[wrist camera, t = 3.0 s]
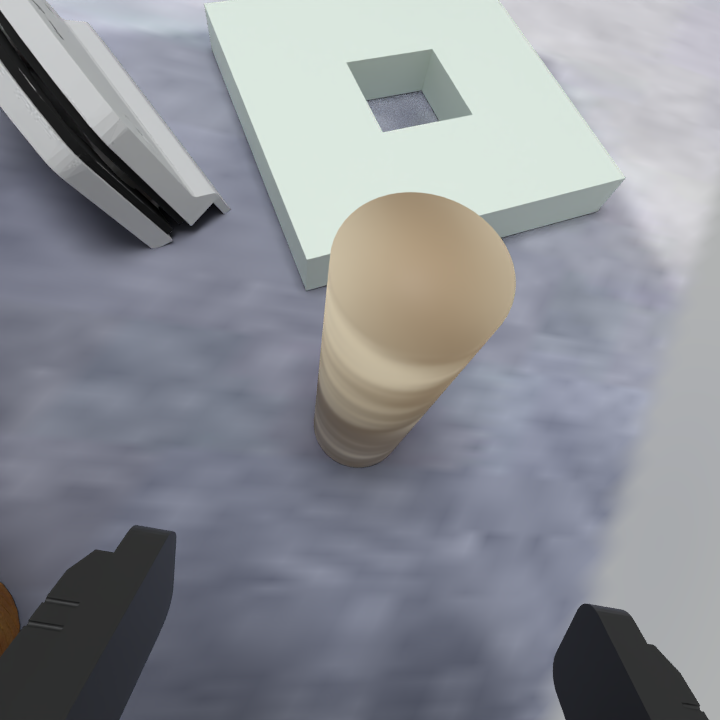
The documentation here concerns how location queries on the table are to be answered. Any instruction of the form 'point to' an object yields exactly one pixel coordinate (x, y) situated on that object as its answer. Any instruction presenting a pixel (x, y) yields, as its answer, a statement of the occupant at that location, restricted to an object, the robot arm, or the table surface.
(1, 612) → the disposable coffee cup
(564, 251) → the table surface
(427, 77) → the collar block
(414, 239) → the birch pin
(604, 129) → the table surface
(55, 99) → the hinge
